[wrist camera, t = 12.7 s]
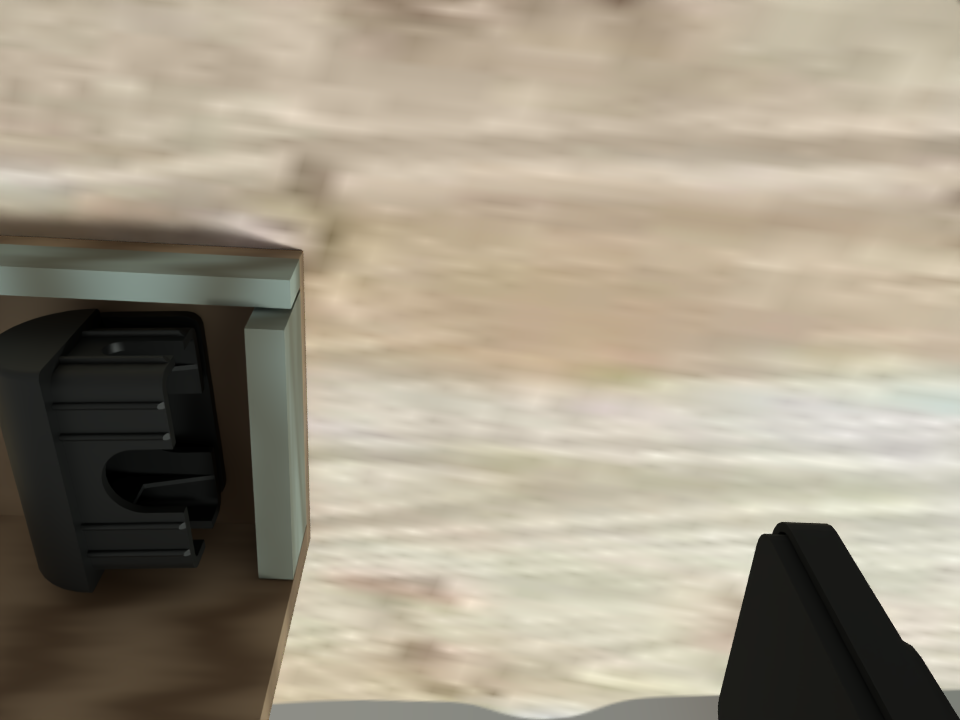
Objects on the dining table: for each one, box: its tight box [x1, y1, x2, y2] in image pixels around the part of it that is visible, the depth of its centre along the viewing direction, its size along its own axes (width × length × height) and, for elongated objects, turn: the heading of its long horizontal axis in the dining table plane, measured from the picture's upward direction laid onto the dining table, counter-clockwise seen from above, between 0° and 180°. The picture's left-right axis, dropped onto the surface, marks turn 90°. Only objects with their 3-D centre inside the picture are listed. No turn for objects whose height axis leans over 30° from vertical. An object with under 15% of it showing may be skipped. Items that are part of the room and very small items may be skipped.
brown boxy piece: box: [0, 235, 310, 720], centre depth 35 cm, size 18×15×13 cm
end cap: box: [0, 309, 226, 593], centre depth 37 cm, size 10×7×7 cm
